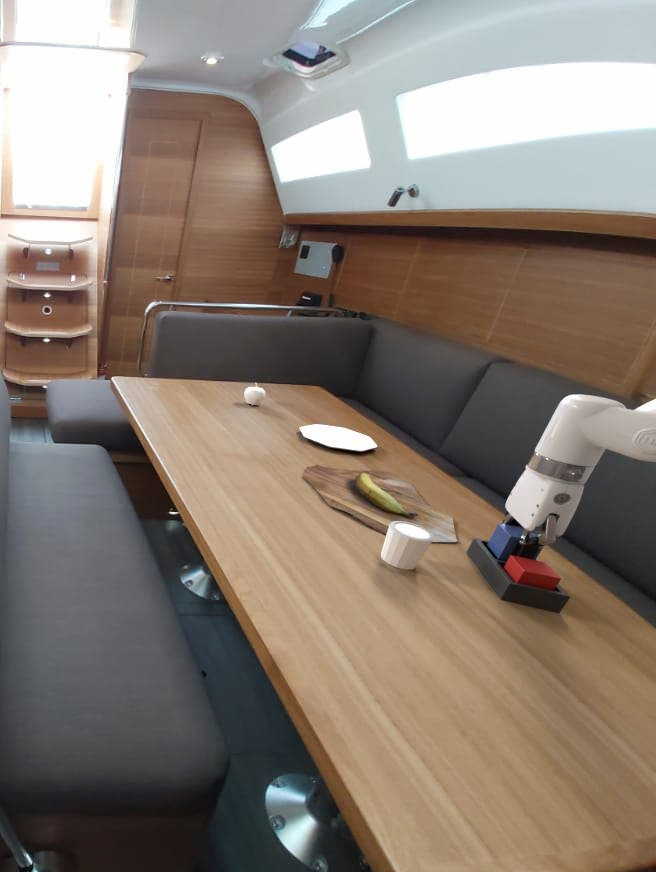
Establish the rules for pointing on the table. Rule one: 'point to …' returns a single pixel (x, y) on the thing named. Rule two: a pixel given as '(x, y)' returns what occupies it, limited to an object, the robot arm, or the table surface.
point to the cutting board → (379, 500)
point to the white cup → (405, 544)
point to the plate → (338, 437)
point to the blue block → (507, 540)
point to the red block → (531, 573)
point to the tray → (508, 588)
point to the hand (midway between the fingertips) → (510, 553)
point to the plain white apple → (254, 395)
